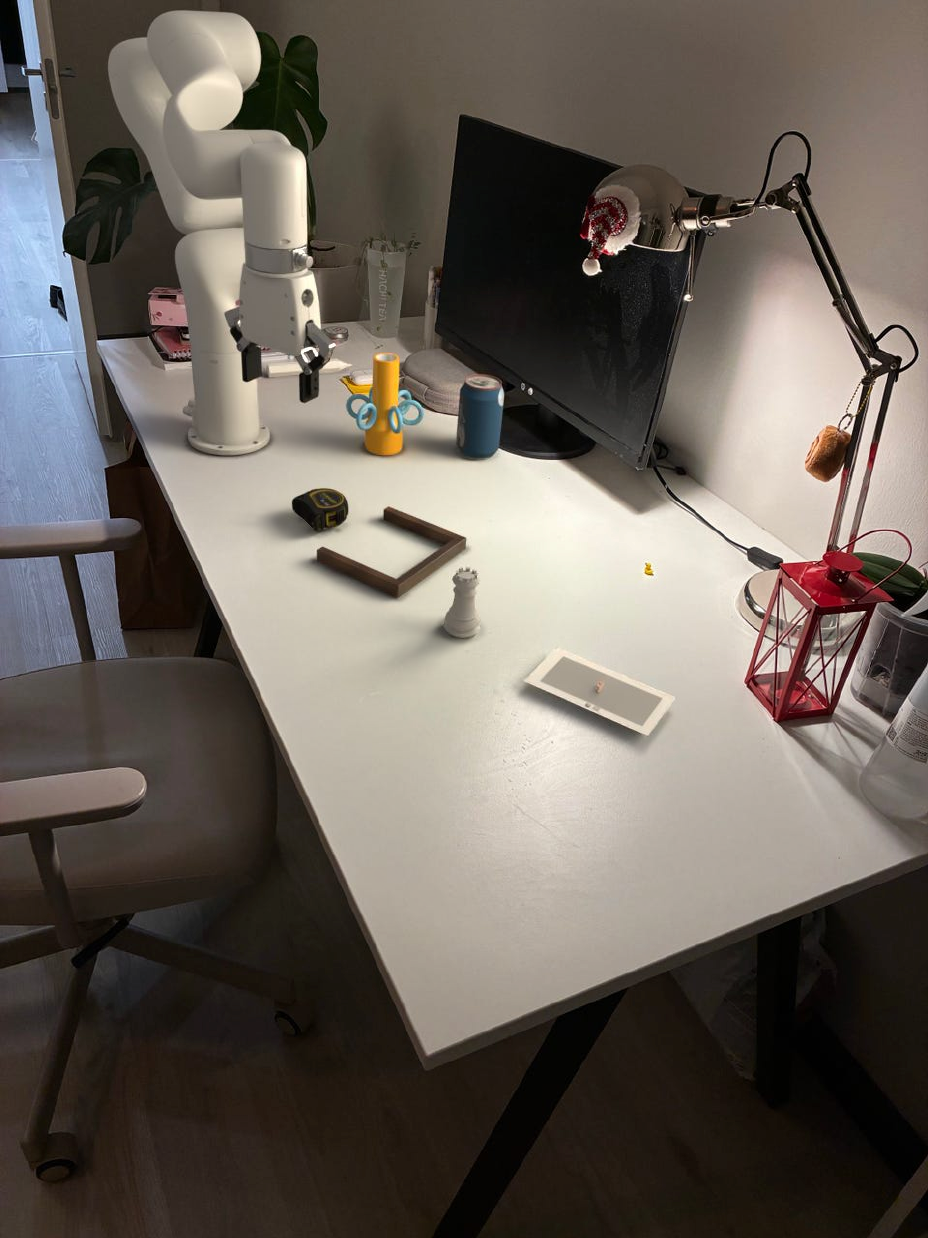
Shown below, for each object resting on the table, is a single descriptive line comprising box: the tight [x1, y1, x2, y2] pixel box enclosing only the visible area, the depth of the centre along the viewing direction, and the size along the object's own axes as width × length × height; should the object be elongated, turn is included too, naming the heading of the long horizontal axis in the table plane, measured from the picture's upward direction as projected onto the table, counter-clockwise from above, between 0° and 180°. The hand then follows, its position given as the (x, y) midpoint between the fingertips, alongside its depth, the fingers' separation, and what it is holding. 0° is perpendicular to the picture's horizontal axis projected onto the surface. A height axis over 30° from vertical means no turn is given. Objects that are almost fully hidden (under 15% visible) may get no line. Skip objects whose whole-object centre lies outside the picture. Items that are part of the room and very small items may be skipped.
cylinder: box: [345, 352, 425, 456], centre depth 150 cm, size 12×10×15 cm
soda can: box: [455, 373, 505, 461], centre depth 153 cm, size 7×7×12 cm
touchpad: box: [523, 646, 677, 737], centre depth 107 cm, size 8×15×2 cm, turn 58°
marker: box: [266, 358, 353, 378], centre depth 177 cm, size 3×2×16 cm
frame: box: [316, 505, 467, 598], centre depth 128 cm, size 13×15×2 cm
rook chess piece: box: [443, 566, 481, 639], centre depth 114 cm, size 4×4×8 cm
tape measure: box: [291, 487, 349, 533], centre depth 133 cm, size 7×7×4 cm
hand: (280, 389), depth 128 cm, fingers open, 9 cm apart
